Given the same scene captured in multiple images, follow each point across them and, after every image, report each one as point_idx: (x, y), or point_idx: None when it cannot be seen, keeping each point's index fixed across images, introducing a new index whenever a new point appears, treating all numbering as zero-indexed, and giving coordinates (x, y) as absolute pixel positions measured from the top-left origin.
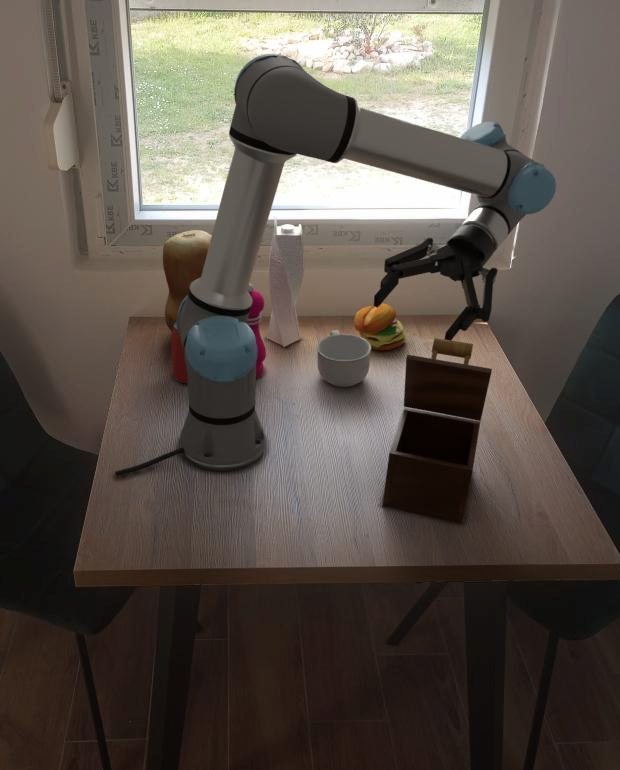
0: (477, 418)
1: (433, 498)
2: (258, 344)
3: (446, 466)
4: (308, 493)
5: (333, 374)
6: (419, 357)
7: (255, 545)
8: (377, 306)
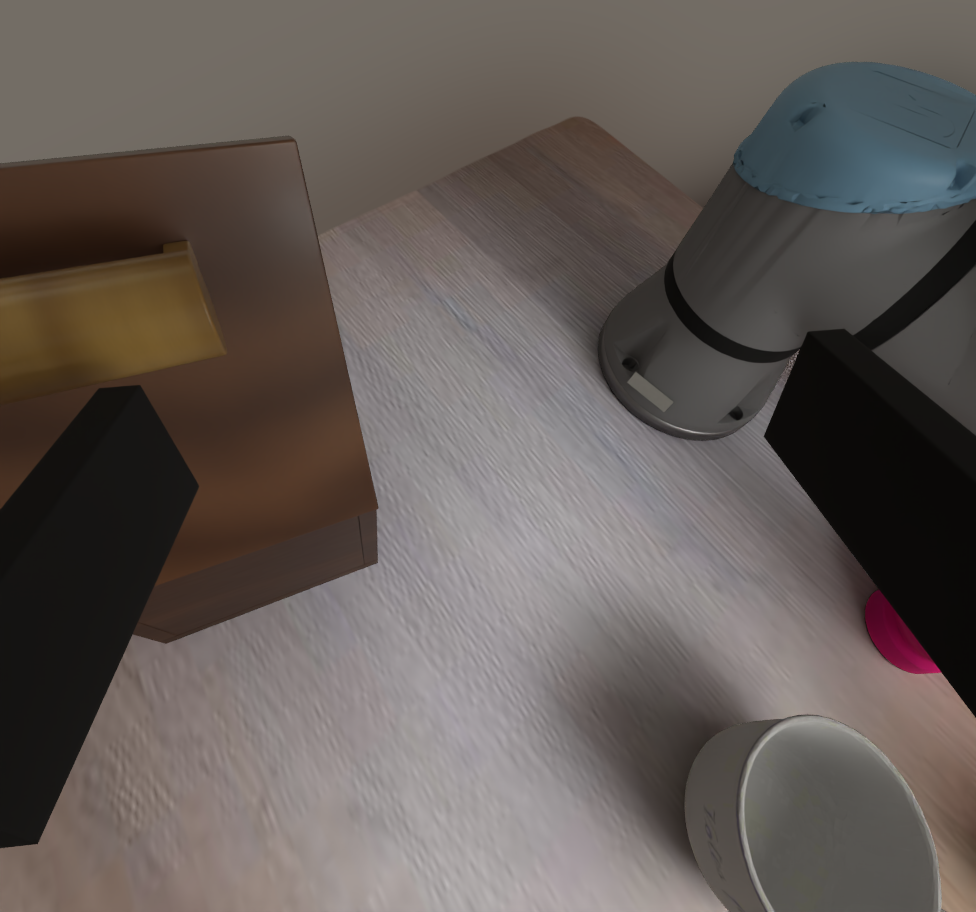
0: None
1: None
2: None
3: None
4: (461, 347)
5: (744, 723)
6: (222, 145)
7: (444, 215)
8: (769, 426)
